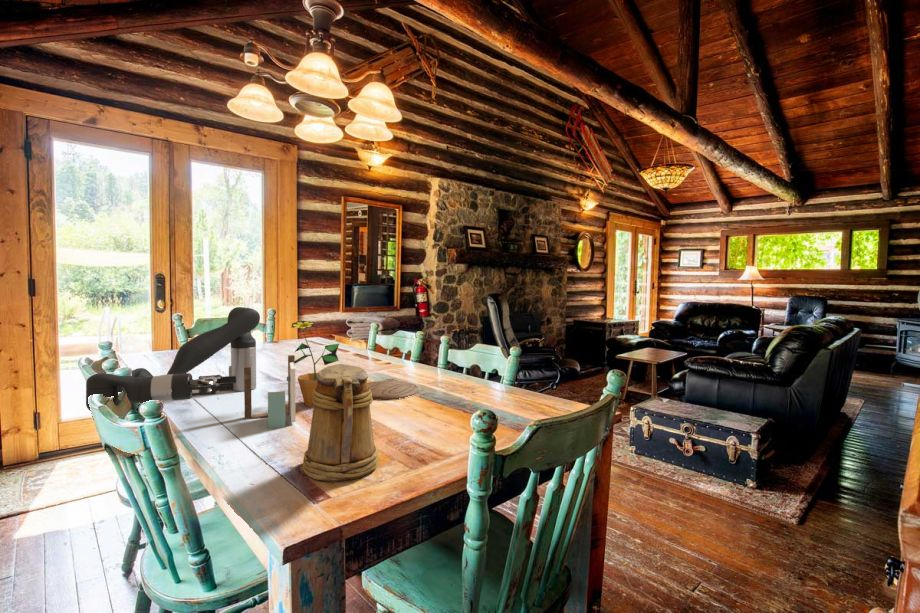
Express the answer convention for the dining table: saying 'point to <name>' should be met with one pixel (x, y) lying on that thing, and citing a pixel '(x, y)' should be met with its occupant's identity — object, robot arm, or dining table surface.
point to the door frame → (248, 391)
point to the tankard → (341, 426)
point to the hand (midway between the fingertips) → (234, 382)
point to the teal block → (276, 409)
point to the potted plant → (310, 380)
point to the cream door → (292, 391)
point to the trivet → (392, 389)
